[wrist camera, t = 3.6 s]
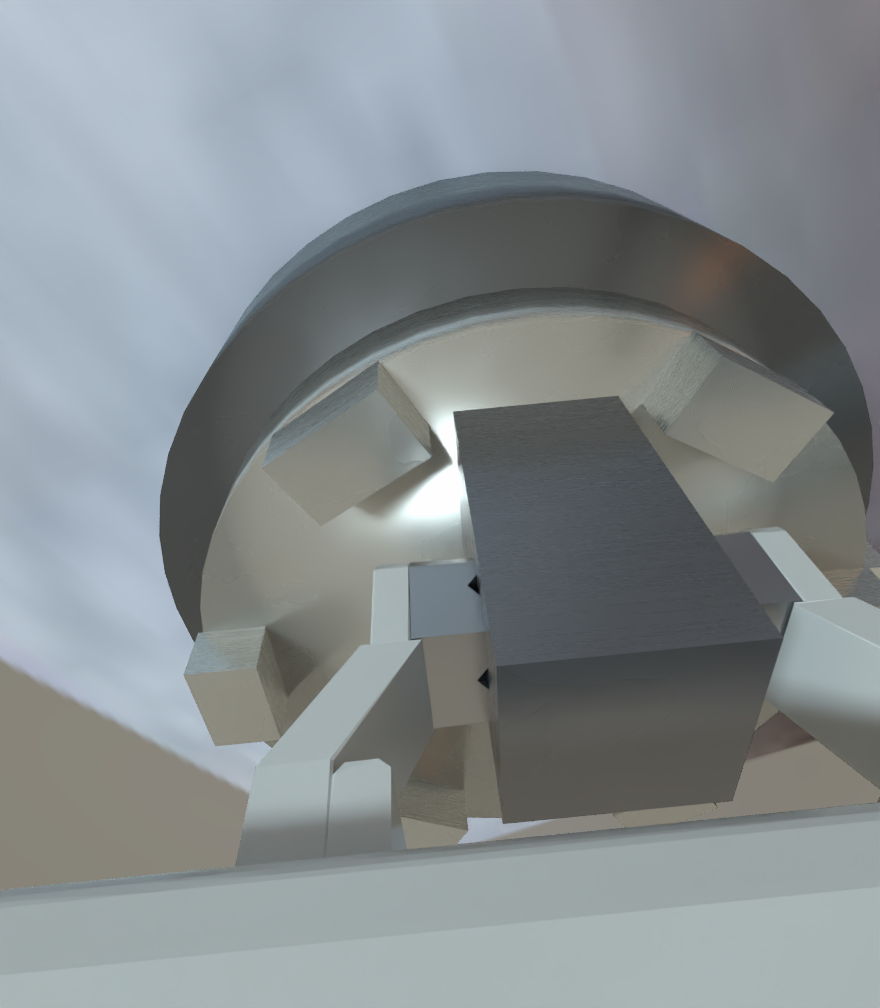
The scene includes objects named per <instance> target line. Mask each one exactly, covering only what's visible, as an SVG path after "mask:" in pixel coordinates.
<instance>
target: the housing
mask: <svg viewBox="0 0 880 1008" xmlns="http://www.w3.org/2000/svg"><path fill="white" fill-rule="evenodd" d="M550 287H572V288H581V289H591V290H600V291H609V292H617V293H621V294H625V295H629V296H633V297H637V298H641V299H644V300H648V301H652V302H656V303H660V304H663V305H665V306H668V307H670V308H672V309H675V310H677V311H679V312H682V313H684V314H687V315H689V316H691V317H694V318H696V319H698V320H701V321H703V322H704V323H706V324H707V325H709V326H711V327H712V328H714V329H715V330H717V331H719V332H720V333H722V334H723V335H725V336H727V337H728V338H730V339H731V340H733V341H734V342H736V343H738V344H739V345H740V346H741V347H743V348H744V349H745V350H746V351H748V352H749V353H750V354H751V355H752V356H754V357H755V358H756V359H757V360H759V361H760V362H761V363H762V364H764V365H765V366H766V367H767V368H769V369H770V370H772V371H773V372H775V373H777V374H779V375H781V376H783V377H785V378H787V379H789V380H791V381H793V382H795V383H797V384H798V385H799V386H801V387H802V388H803V389H805V390H806V391H807V392H808V393H810V394H811V395H812V396H813V397H815V398H816V399H817V400H819V401H820V402H821V403H822V404H824V405H825V406H826V407H828V408H829V409H830V410H831V411H833V412H834V414H833V415H832V416H831V417H830V418H829V419H828V420H827V422H826V423H827V424H828V426H829V427H830V428H831V430H832V431H833V432H834V434H835V435H836V436H837V438H838V439H839V440H840V442H841V444H842V446H843V448H844V450H845V452H846V454H847V456H848V458H849V460H850V463H851V465H852V467H853V469H854V471H855V473H856V475H857V479H858V483H859V487H860V491H861V495H862V499H863V503H864V507H865V515H866V512H867V508H868V504H869V496H870V488H871V480H872V472H873V449H872V427H871V422H870V418H869V413H868V409H867V405H866V400H865V396H864V391H863V387H862V385H861V382H860V380H859V378H858V375H857V373H856V371H855V368H854V366H853V364H852V361H851V359H850V357H849V355H848V352H847V350H846V348H845V346H844V345H843V343H842V342H841V340H840V339H839V337H838V336H837V334H836V333H835V331H834V330H833V329H832V327H831V326H830V324H829V323H828V321H827V320H826V318H825V317H824V315H823V314H822V312H821V311H820V310H819V309H818V308H817V307H816V306H815V305H814V304H813V303H812V302H811V301H810V300H809V299H808V298H807V297H806V296H805V295H804V294H803V293H802V292H801V291H800V290H799V289H798V288H797V287H796V286H795V285H794V284H793V283H792V282H791V281H790V279H789V278H788V277H787V276H785V275H784V274H782V273H781V272H779V271H778V270H777V269H775V268H774V267H772V266H771V265H769V264H768V263H767V262H765V261H764V260H762V259H761V258H759V257H758V256H756V255H755V254H754V253H752V252H751V251H749V250H748V249H746V248H745V247H743V246H741V245H739V244H737V243H736V242H734V241H732V240H730V239H728V238H726V237H724V236H722V235H720V234H718V233H716V232H714V231H712V230H710V229H708V228H706V227H704V226H702V225H700V224H698V223H696V222H694V221H692V220H690V219H689V218H687V217H685V216H683V215H681V214H679V213H677V212H675V211H673V210H671V209H669V208H667V207H665V206H662V205H660V204H658V203H656V202H654V201H652V200H650V199H647V198H645V197H643V196H641V195H639V194H637V193H635V192H633V191H630V190H627V189H623V188H620V187H617V186H613V185H610V184H606V183H603V182H599V181H596V180H592V179H589V178H585V177H577V176H570V175H562V174H554V173H546V172H538V171H531V172H487V173H481V174H475V175H470V176H464V177H458V178H452V179H446V180H440V181H436V182H433V183H430V184H427V185H424V186H420V187H417V188H414V189H411V190H408V191H405V192H402V193H399V194H395V195H392V196H390V197H388V198H386V199H384V200H382V201H380V202H377V203H375V204H373V205H371V206H369V207H367V208H365V209H363V210H361V211H359V212H357V213H355V214H353V215H351V216H349V217H347V218H345V219H344V220H342V221H341V222H339V223H338V224H336V225H335V226H333V227H332V228H330V229H329V230H328V231H326V232H325V233H323V234H322V235H320V236H319V237H317V238H316V239H314V240H313V241H311V242H310V243H308V244H307V245H306V246H305V247H304V248H303V249H302V250H300V251H299V252H298V253H297V254H296V255H295V256H294V257H293V258H292V259H291V260H290V261H289V262H287V263H286V264H285V265H284V266H283V267H282V268H281V269H280V270H279V271H278V272H277V273H275V274H274V275H273V276H272V278H271V279H270V280H269V281H268V283H267V284H266V285H265V286H264V288H263V289H262V290H261V291H260V293H259V294H258V295H257V296H256V298H255V299H254V300H253V301H252V302H251V304H250V305H249V306H248V307H247V309H246V310H245V312H244V313H243V315H242V317H241V318H240V320H239V321H238V323H237V325H236V326H235V328H234V330H233V331H232V333H231V334H230V336H229V338H228V339H227V341H226V343H225V344H224V346H223V347H222V349H221V351H220V352H219V354H218V356H217V357H216V359H215V360H214V362H213V364H212V365H211V367H210V369H209V370H208V372H207V374H206V375H205V377H204V379H203V381H202V382H201V384H200V386H199V387H198V389H197V391H196V393H195V394H194V396H193V398H192V399H191V401H190V403H189V405H188V406H187V408H186V410H185V412H184V414H183V417H182V419H181V422H180V425H179V427H178V430H177V433H176V435H175V438H174V441H173V443H172V446H171V448H170V451H169V454H168V459H167V464H166V469H165V474H164V479H163V484H162V489H161V495H160V534H159V536H160V542H161V549H162V556H163V562H164V569H165V574H166V577H167V580H168V583H169V586H170V589H171V593H172V596H173V599H174V602H175V605H176V608H177V610H178V612H179V614H180V616H181V617H182V619H183V621H184V623H185V625H186V627H187V629H188V631H189V633H190V635H191V637H192V639H193V640H194V642H195V641H196V638H197V635H198V633H202V632H203V627H202V619H201V610H200V602H201V588H202V573H203V569H204V565H205V561H206V557H207V553H208V550H209V546H210V542H211V538H212V535H213V533H214V530H215V527H216V525H217V522H218V520H219V517H220V515H221V512H222V509H223V507H224V504H225V502H226V499H227V497H228V494H229V491H230V489H231V486H232V484H233V482H234V479H235V477H236V475H237V473H238V470H239V468H240V466H241V464H242V462H243V459H244V457H245V455H246V453H247V450H248V449H249V447H250V446H251V444H252V443H253V441H254V440H255V438H256V437H257V435H258V434H259V432H260V431H261V429H262V428H263V426H264V425H265V423H266V422H267V420H268V419H269V417H270V416H271V415H272V414H273V413H274V411H275V410H276V409H277V408H278V407H279V406H280V405H281V404H282V403H283V401H284V400H285V399H286V398H287V397H288V396H289V395H290V394H291V393H292V392H293V390H294V389H295V388H296V387H297V386H298V385H299V384H300V383H301V382H303V381H304V380H305V379H306V378H308V377H309V376H310V375H311V374H312V373H314V372H315V371H316V370H317V369H318V368H320V367H321V366H322V365H323V364H324V363H326V362H327V361H328V360H329V359H330V358H332V357H333V356H334V355H336V354H338V353H339V352H341V351H342V350H344V349H346V348H347V347H349V346H351V345H352V344H354V343H355V342H357V341H359V340H360V339H362V338H363V337H365V336H367V335H368V334H370V333H372V332H373V331H375V330H378V329H380V328H382V327H384V326H386V325H389V324H391V323H393V322H395V321H398V320H400V319H402V318H404V317H407V316H409V315H411V314H413V313H415V312H418V311H421V310H424V309H427V308H431V307H434V306H437V305H441V304H444V303H447V302H451V301H454V300H457V299H461V298H464V297H468V296H474V295H480V294H486V293H492V292H498V291H505V290H511V289H517V288H550ZM866 567H868V568H869V569H870V570H871V571H872V572H873V573H874V574H875V575H876V576H877V577H878V578H879V579H880V554H879V553H878V552H877V551H876V550H875V549H874V548H873V547H872V546H871V545H870V544H869V543H868V542H867V544H866V552H865V560H864V568H866Z"/></svg>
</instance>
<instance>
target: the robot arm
mask: <svg viewBox="0 0 880 1008" xmlns="http://www.w3.org/2000/svg"><path fill="white" fill-rule="evenodd" d="M713 535H714V537H715V538H716V540H717V541H718V543H719V544H720V546H721V547H722V549H723V550H724V552H725V553H726V555H727V556H728V557H729V559H730V560H731V562H732V563H733V565H734V566H735V568H736V569H737V571H738V572H739V574H740V575H741V576H742V578H743V579H744V581H745V582H746V584H747V585H748V587H749V588H750V590H751V591H752V593H753V594H754V595H755V597H756V598H757V600H758V601H759V603H760V604H761V606H762V607H763V609H764V610H765V612H766V613H767V615H768V616H769V617H770V619H771V620H772V622H773V623H774V625H775V626H776V628H777V629H778V631H779V632H780V634H781V635H782V636H783V642H782V645H781V648H780V651H779V654H778V657H777V661H776V664H775V667H774V670H773V673H772V676H771V680H770V683H769V686H768V689H767V692H766V696H765V700H766V701H768V702H769V703H770V704H771V705H773V706H774V707H775V708H777V709H778V710H779V711H780V712H782V713H783V714H784V715H786V716H787V717H788V718H789V719H791V720H792V721H793V722H794V723H796V724H797V725H798V726H800V727H801V728H802V729H803V730H805V731H806V732H807V733H809V734H810V735H811V736H812V737H814V738H815V739H816V740H817V741H819V742H820V743H821V744H823V745H824V746H825V747H826V748H828V749H829V750H830V751H832V752H833V753H834V754H835V755H837V756H838V757H839V758H841V759H842V760H843V761H844V762H846V763H847V764H848V765H850V766H851V767H852V768H853V769H855V770H856V771H857V772H858V773H860V774H861V775H862V776H863V777H865V778H866V779H867V780H869V781H870V782H871V783H872V784H874V785H875V786H876V787H878V788H879V789H880V609H879V608H877V607H875V606H872V605H870V604H868V603H866V602H864V601H862V600H860V599H858V598H855V597H847V598H843V597H842V596H841V594H840V593H839V592H838V591H837V590H836V589H835V587H834V586H833V585H832V584H831V583H830V582H829V580H828V579H827V578H826V577H825V576H824V575H823V573H822V572H821V571H820V570H819V569H818V568H817V567H816V565H815V564H814V563H813V562H812V561H811V560H810V558H809V557H808V556H807V555H806V554H805V553H804V551H803V550H802V549H801V548H800V547H799V546H798V544H797V543H796V542H795V541H794V540H793V539H792V537H791V536H790V535H789V534H788V533H787V532H786V531H785V530H784V529H782V528H780V527H777V526H776V527H768V528H760V529H751V530H744V531H743V532H732V533H722V534H713ZM487 668H488V661H487V641H486V628H485V622H484V616H483V610H482V604H481V598H480V595H479V594H478V588H477V573H476V567H475V561H474V558H464V559H451V560H437V561H424V562H411V563H409V564H407V563H403V564H391V565H379V566H376V567H375V569H374V572H373V592H372V615H371V639H370V644H368V645H360V646H359V647H358V649H357V650H356V651H355V652H354V653H353V654H352V656H351V657H350V658H349V659H348V660H347V661H346V663H345V664H344V665H343V666H342V667H341V668H340V670H339V671H338V672H337V673H336V674H335V675H334V677H333V678H332V679H331V680H330V681H329V682H328V684H327V685H326V686H325V687H324V688H323V689H322V691H321V692H320V693H319V694H318V695H317V696H316V698H315V699H314V700H313V701H312V702H311V703H310V705H309V706H308V707H307V708H306V709H305V710H304V712H303V713H302V714H301V715H300V716H299V717H298V719H297V720H296V721H295V722H294V723H293V724H292V726H291V727H290V728H289V729H288V730H287V731H286V732H285V734H284V735H283V736H282V737H281V738H280V739H279V741H278V742H277V743H276V744H275V745H274V746H273V748H272V749H271V750H270V751H269V752H268V753H267V755H266V756H265V757H264V758H263V759H262V760H261V762H260V763H259V764H258V765H257V766H256V767H255V771H254V776H253V781H252V786H251V791H250V796H249V801H248V806H247V811H246V816H245V820H244V826H243V830H242V835H241V840H240V845H239V850H238V855H237V860H236V865H235V867H226V868H215V869H205V870H195V871H185V872H176V873H165V874H155V875H145V876H135V877H125V878H115V879H106V880H96V881H85V882H75V883H65V884H55V885H45V886H34V887H26V888H25V887H24V888H14V889H4V890H0V1008H880V798H879V800H878V802H877V803H868V804H859V805H848V806H838V807H828V808H819V809H809V810H799V811H790V812H779V813H769V814H759V815H749V816H740V817H729V818H719V819H708V820H699V821H688V822H678V823H668V824H658V825H648V826H637V827H627V828H617V829H607V830H597V831H587V832H577V833H567V834H556V835H547V836H536V837H526V838H516V839H507V840H496V841H486V842H476V843H466V844H456V845H446V846H436V847H426V848H416V849H407V846H406V841H405V836H404V831H403V826H402V820H401V815H400V810H399V805H398V798H399V796H400V794H401V792H402V790H403V788H404V787H405V785H406V783H407V781H408V779H409V777H410V775H411V774H412V772H413V770H414V768H415V766H416V764H417V762H418V761H419V759H420V757H421V755H422V753H423V751H424V749H425V748H426V746H427V744H428V742H429V740H430V738H431V736H432V735H433V733H434V729H433V728H441V727H449V726H457V725H465V724H473V723H481V722H489V721H491V719H490V699H489V686H488V680H487V673H486V670H487Z"/></svg>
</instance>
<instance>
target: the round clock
mask: <svg viewBox="0 0 880 1008" xmlns="http://www.w3.org/2000/svg"><path fill="white" fill-rule="evenodd" d="M833 414H834V412H833V411H831V410H830V409H829V408H828V407H826V406H825V405H824V404H822V403H821V402H820V401H819V400H817V399H816V398H815V397H813V396H812V395H811V394H810V393H808V392H807V391H806V390H805V389H803V388H802V387H801V386H799V385H798V384H797V383H795V382H793V381H791V380H789V379H787V378H785V377H783V376H781V375H779V374H777V373H775V372H773V371H772V370H770V369H769V368H767V367H766V366H765V365H764V364H762V363H761V362H760V361H759V360H757V359H756V358H755V357H754V356H752V355H751V354H750V353H749V352H748V351H746V350H745V349H744V348H743V347H741V346H740V345H739V344H738V343H736V342H734V341H733V340H731V339H730V338H728V337H727V336H725V335H723V334H722V333H720V332H719V331H717V330H715V329H714V328H712V327H711V326H709V325H707V324H706V323H704V322H703V321H701V320H698V319H696V318H694V317H691V316H689V315H687V314H684V313H682V312H679V311H677V310H675V309H672V308H670V307H668V306H665V305H663V304H660V303H656V302H652V301H648V300H644V299H641V298H637V297H633V296H629V295H625V294H621V293H617V292H609V291H600V290H591V289H581V288H572V287H550V288H517V289H511V290H505V291H498V292H492V293H486V294H480V295H474V296H468V297H464V298H461V299H457V300H454V301H451V302H447V303H444V304H441V305H437V306H434V307H431V308H427V309H424V310H421V311H418V312H415V313H413V314H411V315H409V316H407V317H404V318H402V319H400V320H398V321H395V322H393V323H391V324H389V325H386V326H384V327H382V328H380V329H378V330H375V331H373V332H372V333H370V334H368V335H367V336H365V337H363V338H362V339H360V340H359V341H357V342H355V343H354V344H352V345H351V346H349V347H347V348H346V349H344V350H342V351H341V352H339V353H338V354H336V355H334V356H333V357H332V358H330V359H329V360H328V361H327V362H326V363H324V364H323V365H322V366H321V367H320V368H318V369H317V370H316V371H315V372H314V373H312V374H311V375H310V376H309V377H308V378H306V379H305V380H304V381H303V382H301V383H300V384H299V385H298V386H297V387H296V388H295V389H294V390H293V392H292V393H291V394H290V395H289V396H288V397H287V398H286V399H285V400H284V401H283V403H282V404H281V405H280V406H279V407H278V408H277V409H276V410H275V411H274V413H273V414H272V415H271V416H270V417H269V419H268V420H267V422H266V423H265V425H264V426H263V428H262V429H261V431H260V432H259V434H258V435H257V437H256V438H255V440H254V441H253V443H252V444H251V446H250V447H249V449H248V450H247V453H246V455H245V457H244V459H243V462H242V464H241V466H240V468H239V470H238V473H237V475H236V477H235V479H234V482H233V484H232V486H231V489H230V491H229V494H228V497H227V499H226V502H225V504H224V507H223V509H222V512H221V515H220V517H219V520H218V522H217V525H216V527H215V530H214V533H213V535H212V538H211V542H210V546H209V550H208V553H207V557H206V561H205V565H204V569H203V573H202V588H201V602H200V610H201V619H202V627H203V632H202V633H198V635H197V638H196V641H195V644H194V646H193V649H192V652H191V655H190V658H189V661H188V664H187V667H186V670H185V672H184V677H185V679H186V681H187V684H188V686H189V688H190V690H191V693H192V695H193V697H194V699H195V702H196V704H197V706H198V708H199V711H200V713H201V715H202V717H203V720H204V722H205V724H206V726H207V729H208V731H209V733H210V735H211V738H212V740H213V742H214V744H215V746H221V745H232V744H242V743H252V742H262V741H264V742H265V743H266V744H268V745H269V746H270V747H271V748H273V746H274V745H275V744H276V743H277V742H278V741H279V739H280V738H281V737H282V736H283V735H284V734H285V732H286V731H287V730H288V729H289V728H290V727H291V726H292V724H293V723H294V722H295V721H296V720H297V719H298V717H299V716H300V715H301V714H302V713H303V712H304V710H305V709H306V708H307V707H308V706H309V705H310V703H311V702H312V701H313V700H314V699H315V698H316V696H317V695H318V694H319V693H320V692H321V691H322V689H323V688H324V687H325V686H326V685H327V684H328V682H329V681H330V680H331V679H332V678H333V677H334V675H335V674H336V673H337V672H338V671H339V670H340V668H341V667H342V666H343V665H344V664H345V663H346V661H347V660H348V659H349V658H350V657H351V656H352V654H353V653H354V652H355V651H356V650H357V649H358V647H359V646H360V645H368V644H370V639H371V615H372V592H373V572H374V569H375V567H376V566H379V565H391V564H403V563H407V564H409V563H411V562H424V561H437V560H451V559H464V558H474V561H475V567H476V573H477V588H478V594H479V595H480V598H481V604H482V610H483V616H484V622H485V628H486V641H487V661H488V668H487V670H486V673H487V680H488V686H489V699H490V719H491V721H489V722H481V723H473V724H465V725H457V726H449V727H441V728H433V729H434V733H433V735H432V736H431V738H430V740H429V742H428V744H427V746H426V748H425V749H424V751H423V753H422V755H421V757H420V759H419V761H418V762H417V764H416V766H415V768H414V770H413V772H412V774H411V775H410V777H409V779H408V781H407V783H406V785H405V787H404V788H403V790H402V792H401V794H400V796H399V798H398V805H399V810H400V815H401V820H402V826H403V831H404V836H405V841H406V846H407V849H416V848H426V847H436V846H446V845H456V844H457V843H458V842H459V841H460V839H461V838H462V837H463V836H464V835H465V834H466V833H467V831H468V824H467V817H477V818H502V821H503V824H507V823H517V822H527V821H537V820H547V819H557V818H567V817H576V816H587V815H597V814H607V813H613V816H614V817H615V818H616V819H617V820H618V821H619V822H620V823H621V824H622V825H623V826H624V827H625V828H627V827H637V826H648V825H658V824H668V823H678V822H682V821H685V820H688V819H690V818H692V817H695V816H698V815H701V814H703V813H706V812H708V811H711V810H713V809H716V808H717V805H716V803H717V802H726V801H727V802H728V801H732V800H733V797H734V794H735V790H736V788H737V784H738V781H739V778H740V775H741V772H742V769H743V765H744V762H745V759H746V756H747V753H748V749H749V746H750V743H751V740H752V737H753V734H754V731H755V730H756V729H757V728H759V727H760V726H761V725H762V724H764V723H765V722H766V721H767V720H769V719H770V718H771V717H772V716H774V715H775V714H776V713H777V712H778V711H779V710H778V709H777V708H775V707H774V706H773V705H771V704H770V703H769V702H768V701H766V700H765V696H766V692H767V689H768V686H769V683H770V680H771V676H772V673H773V670H774V667H775V664H776V661H777V657H778V654H779V651H780V648H781V645H782V642H783V636H782V635H781V634H780V632H779V631H778V629H777V628H776V626H775V625H774V623H773V622H772V620H771V619H770V617H769V616H768V615H767V613H766V612H765V610H764V609H763V607H762V606H761V604H760V603H759V601H758V600H757V598H756V597H755V595H754V594H753V593H752V591H751V590H750V588H749V587H748V585H747V584H746V582H745V581H744V579H743V578H742V576H741V575H740V574H739V572H738V571H737V569H736V568H735V566H734V565H733V563H732V562H731V560H730V559H729V557H728V556H727V555H726V553H725V552H724V550H723V549H722V547H721V546H720V544H719V543H718V541H717V540H716V538H715V537H714V535H713V534H722V533H732V532H743V531H744V530H751V529H760V528H768V527H776V526H777V527H780V528H782V529H784V530H785V531H786V532H787V533H788V534H789V535H790V536H791V537H792V539H793V540H794V541H795V542H796V543H797V544H798V546H799V547H800V548H801V549H802V550H803V551H804V553H805V554H806V555H807V556H808V557H809V558H810V560H811V561H812V562H813V563H814V564H815V565H816V567H817V568H818V569H819V570H820V571H821V572H822V573H823V575H824V576H825V577H826V578H827V579H828V580H829V582H830V583H831V584H832V585H833V586H834V587H835V589H836V590H837V591H838V592H839V593H840V594H841V596H842V597H843V598H847V597H855V598H858V599H860V600H862V601H864V602H866V603H868V604H870V605H872V606H875V607H877V608H879V609H880V579H879V578H878V577H877V576H876V575H875V574H874V573H873V572H872V571H871V570H870V569H869V568H868V567H866V568H864V560H865V552H866V544H867V538H866V520H865V507H864V503H863V499H862V495H861V491H860V487H859V483H858V479H857V475H856V473H855V471H854V469H853V467H852V465H851V463H850V460H849V458H848V456H847V454H846V452H845V450H844V448H843V446H842V444H841V442H840V440H839V439H838V438H837V436H836V435H835V434H834V432H833V431H832V430H831V428H830V427H829V426H828V424H827V423H826V422H827V420H828V419H829V418H830V417H831V416H832V415H833Z"/></svg>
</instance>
